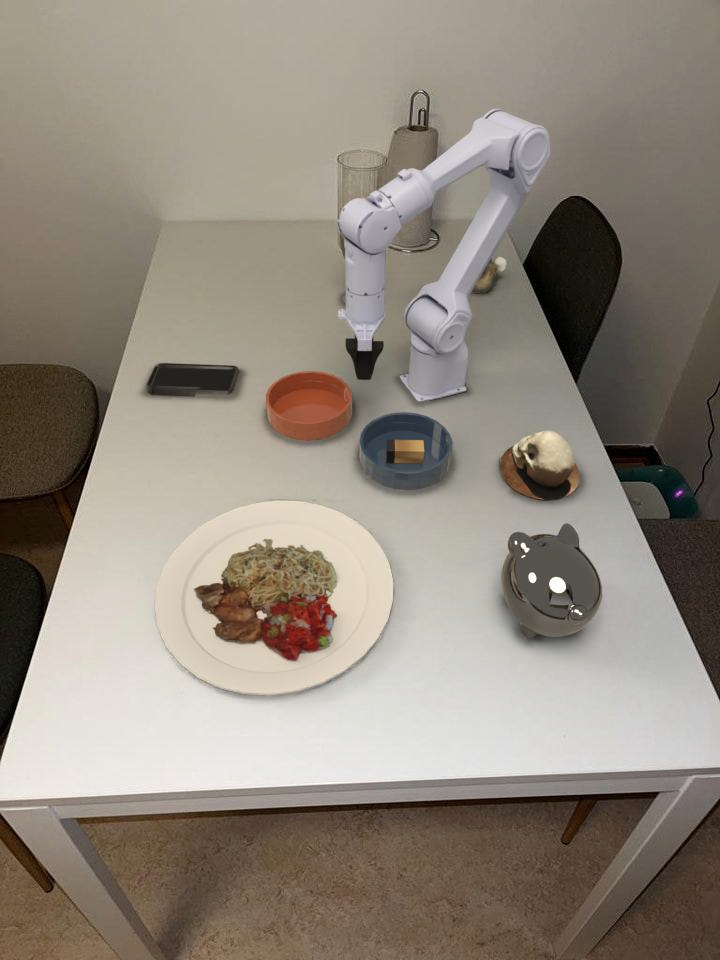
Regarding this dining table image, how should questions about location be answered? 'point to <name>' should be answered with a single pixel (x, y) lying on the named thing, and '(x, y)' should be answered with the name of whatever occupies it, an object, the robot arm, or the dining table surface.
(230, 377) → the phone
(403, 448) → the tan block dark cap
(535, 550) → the piggy bank
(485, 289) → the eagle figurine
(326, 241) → the dining table surface
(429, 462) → the slate bowl
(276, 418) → the terracotta bowl
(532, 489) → the skull
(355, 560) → the plated food
